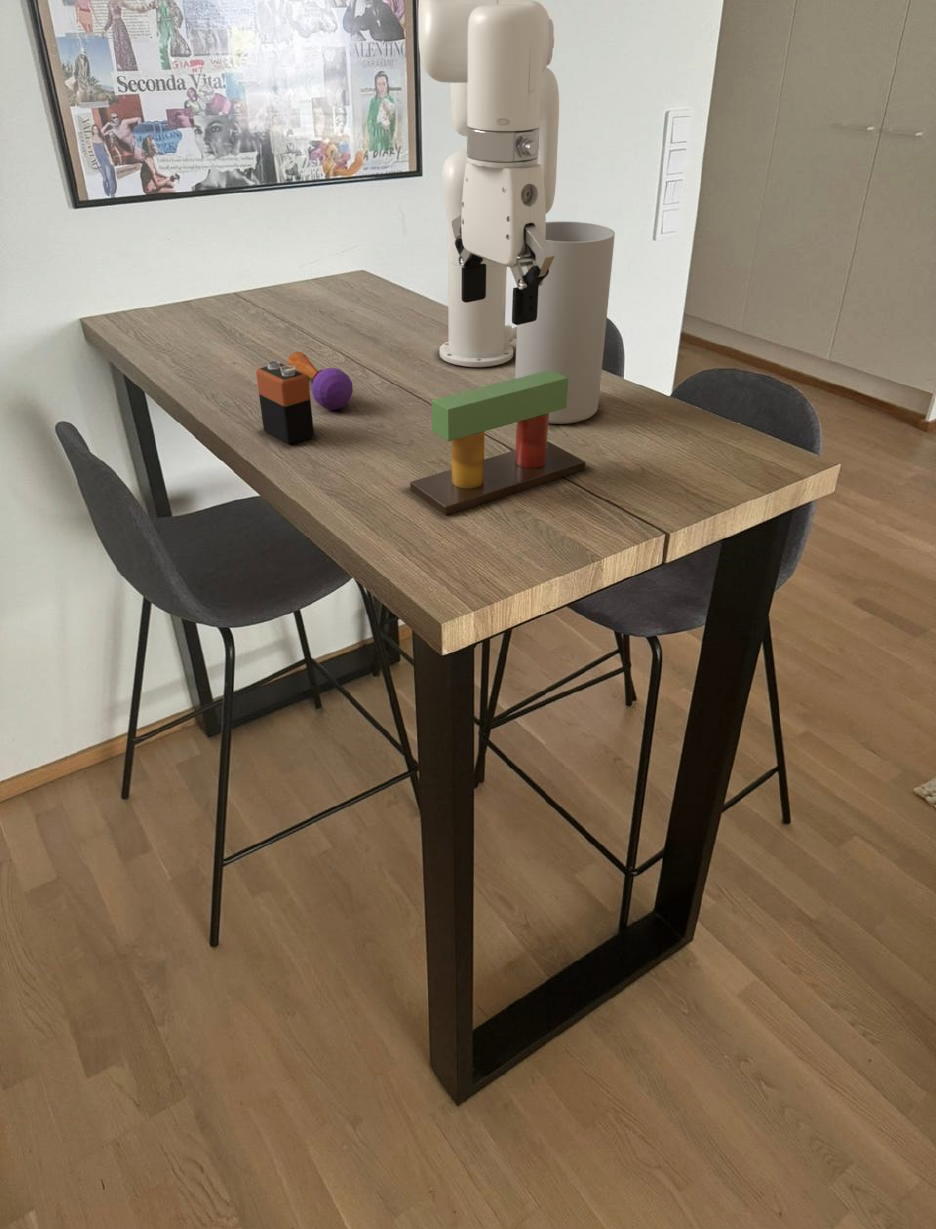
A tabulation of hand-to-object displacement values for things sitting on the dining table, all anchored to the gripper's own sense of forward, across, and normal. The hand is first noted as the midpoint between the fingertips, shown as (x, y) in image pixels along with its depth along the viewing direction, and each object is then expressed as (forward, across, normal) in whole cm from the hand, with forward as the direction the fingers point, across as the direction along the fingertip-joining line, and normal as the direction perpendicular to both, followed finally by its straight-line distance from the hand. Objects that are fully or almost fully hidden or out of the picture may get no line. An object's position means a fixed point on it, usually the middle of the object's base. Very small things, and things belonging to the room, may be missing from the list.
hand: (498, 311), depth 104 cm
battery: (+21, +26, +16) cm, 37 cm away
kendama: (+22, +38, +6) cm, 44 cm away
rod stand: (+21, -2, +1) cm, 21 cm away
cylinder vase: (+22, +12, -20) cm, 32 cm away
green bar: (+13, -2, +1) cm, 13 cm away
